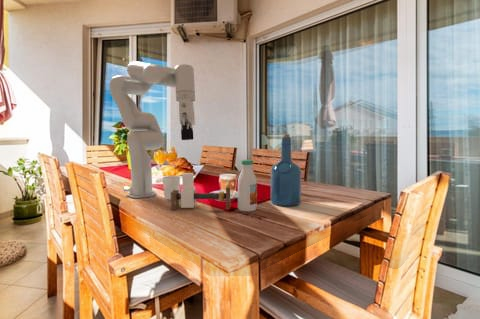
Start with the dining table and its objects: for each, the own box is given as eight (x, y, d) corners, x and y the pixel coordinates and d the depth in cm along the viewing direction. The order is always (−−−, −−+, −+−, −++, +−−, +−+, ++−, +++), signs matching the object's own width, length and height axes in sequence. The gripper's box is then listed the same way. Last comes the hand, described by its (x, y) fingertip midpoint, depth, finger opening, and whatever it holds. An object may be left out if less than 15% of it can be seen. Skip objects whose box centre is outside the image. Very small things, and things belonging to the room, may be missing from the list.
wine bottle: (273, 198, 126) (274, 133, 123) (302, 200, 122) (304, 133, 119) (266, 205, 113) (267, 134, 110) (298, 208, 109) (300, 134, 106)
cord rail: (171, 210, 108) (170, 188, 107) (174, 206, 113) (173, 185, 112) (229, 209, 108) (229, 187, 107) (230, 206, 113) (230, 185, 112)
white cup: (176, 200, 123) (175, 178, 121) (160, 199, 124) (159, 178, 123) (183, 196, 130) (182, 176, 129) (168, 195, 132) (167, 175, 131)
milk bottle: (243, 213, 103) (243, 161, 101) (234, 208, 110) (234, 159, 108) (260, 210, 107) (260, 160, 105) (250, 205, 114) (250, 158, 112)
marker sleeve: (181, 207, 108) (180, 174, 106) (183, 204, 113) (182, 172, 111) (193, 207, 108) (192, 174, 106) (195, 203, 113) (195, 172, 112)
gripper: (191, 93, 100) (194, 139, 101) (197, 99, 117) (199, 139, 118) (171, 94, 99) (174, 140, 101) (180, 100, 117) (182, 139, 118)
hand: (187, 139), depth 110 cm, fingers open, 9 cm apart
